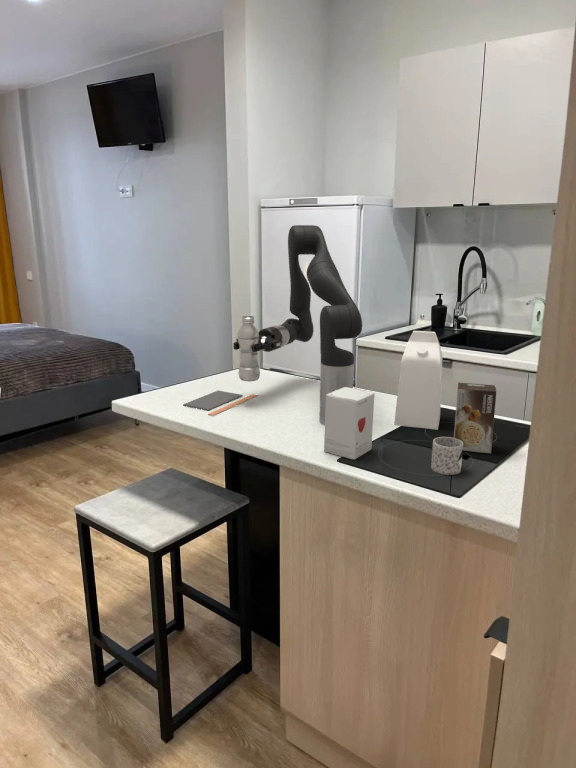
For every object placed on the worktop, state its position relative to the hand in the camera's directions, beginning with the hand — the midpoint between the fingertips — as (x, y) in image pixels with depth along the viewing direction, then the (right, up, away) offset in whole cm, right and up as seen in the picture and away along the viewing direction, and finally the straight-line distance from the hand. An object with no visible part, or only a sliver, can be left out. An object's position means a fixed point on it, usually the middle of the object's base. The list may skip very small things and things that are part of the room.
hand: (243, 347), depth 167 cm
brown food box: (+60, -27, -26) cm, 71 cm away
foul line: (-4, -18, +7) cm, 19 cm away
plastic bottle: (+1, -10, +5) cm, 11 cm away
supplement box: (+28, -28, -29) cm, 49 cm away
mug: (+50, -30, -37) cm, 69 cm away
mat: (-10, -16, +10) cm, 22 cm away
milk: (+51, -22, -7) cm, 56 cm away
